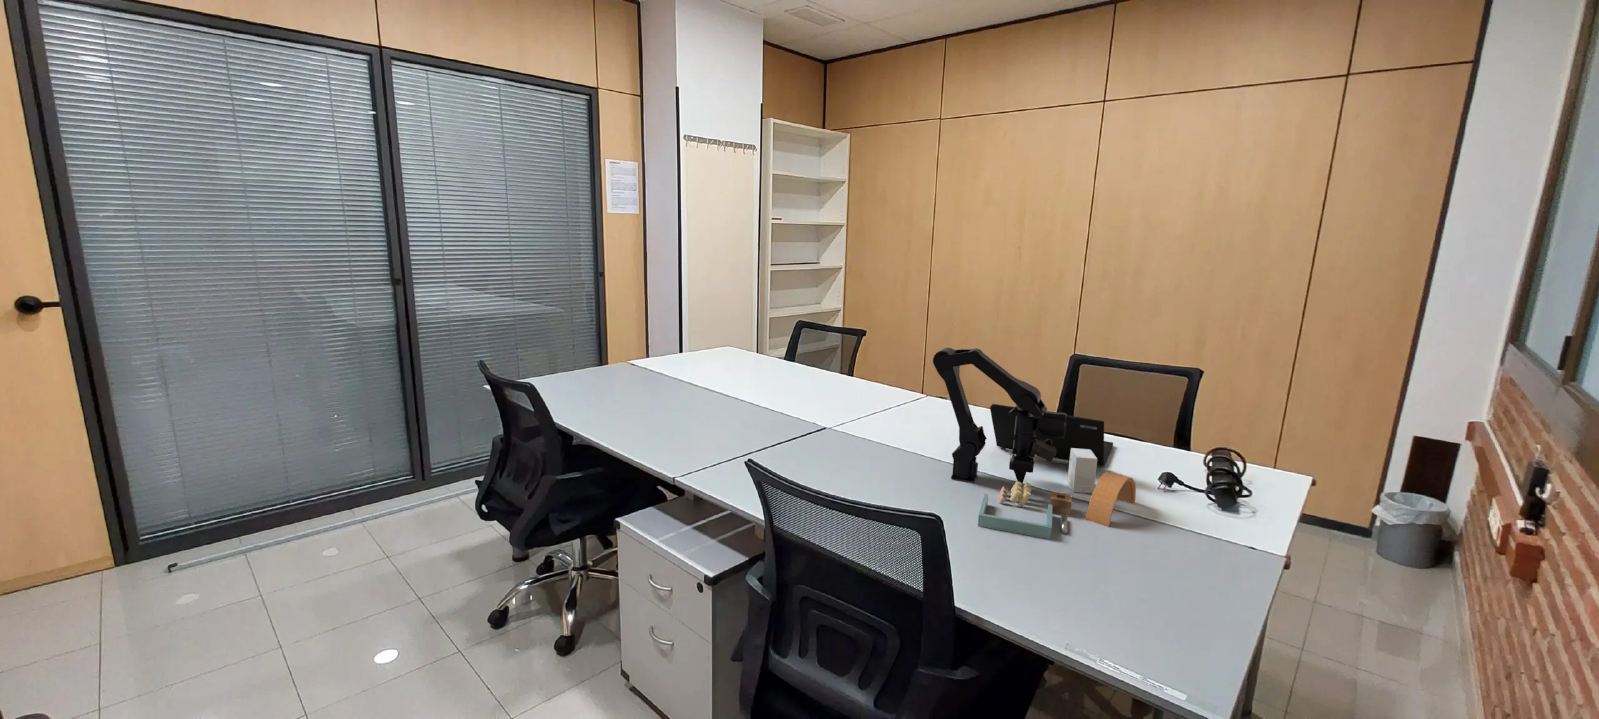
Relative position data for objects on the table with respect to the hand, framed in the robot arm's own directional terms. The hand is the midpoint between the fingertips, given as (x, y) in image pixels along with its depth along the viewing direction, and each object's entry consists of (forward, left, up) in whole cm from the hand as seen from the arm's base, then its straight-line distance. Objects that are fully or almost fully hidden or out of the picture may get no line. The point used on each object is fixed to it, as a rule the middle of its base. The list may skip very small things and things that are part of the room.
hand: (1020, 483), depth 180 cm
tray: (0, -21, -2) cm, 21 cm away
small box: (+16, +8, -2) cm, 18 cm away
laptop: (+8, +34, -2) cm, 35 cm away
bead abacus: (-1, -9, -2) cm, 9 cm away
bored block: (+10, -11, -2) cm, 15 cm away
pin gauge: (+11, -20, -2) cm, 23 cm away
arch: (+23, -5, -2) cm, 24 cm away
